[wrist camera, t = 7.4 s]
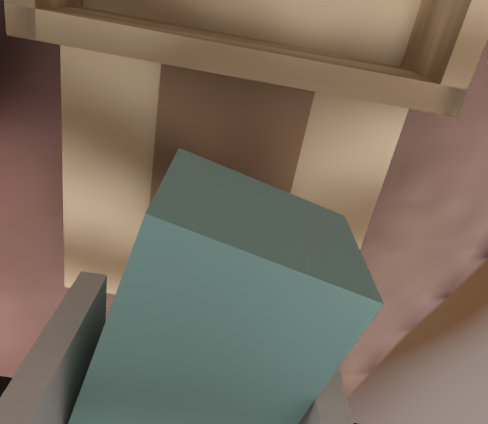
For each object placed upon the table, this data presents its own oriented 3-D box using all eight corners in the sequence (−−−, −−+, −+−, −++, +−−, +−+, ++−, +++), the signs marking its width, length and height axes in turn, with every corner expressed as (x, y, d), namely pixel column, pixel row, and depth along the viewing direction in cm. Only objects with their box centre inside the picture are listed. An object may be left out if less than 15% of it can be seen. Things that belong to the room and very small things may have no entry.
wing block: (179, 147, 11) (145, 213, 8) (344, 215, 12) (383, 303, 9) (86, 393, 15) (36, 511, 12) (215, 432, 16) (205, 554, 13)
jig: (62, -567, 12) (-63, -943, 7) (581, -428, 13) (773, -679, 8) (71, 276, 26) (27, 342, 21) (330, 315, 27) (348, 387, 22)
